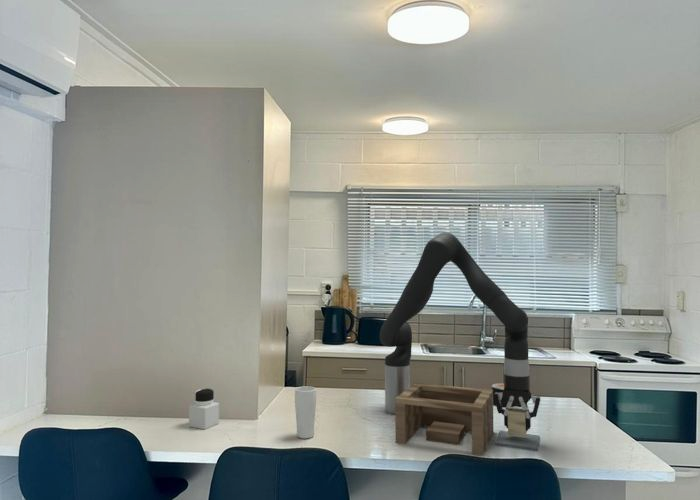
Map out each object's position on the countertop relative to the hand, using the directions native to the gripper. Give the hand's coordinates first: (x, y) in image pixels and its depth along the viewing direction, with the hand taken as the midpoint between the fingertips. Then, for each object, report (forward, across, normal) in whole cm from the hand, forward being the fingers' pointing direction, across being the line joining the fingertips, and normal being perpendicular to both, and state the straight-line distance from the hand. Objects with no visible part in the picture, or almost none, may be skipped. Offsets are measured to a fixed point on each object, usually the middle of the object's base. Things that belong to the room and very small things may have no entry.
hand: (517, 428), depth 152 cm
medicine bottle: (+4, +99, +26) cm, 102 cm away
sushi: (+4, +9, -41) cm, 42 cm away
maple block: (+1, 0, 0) cm, 1 cm away
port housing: (+4, +21, +5) cm, 22 cm away
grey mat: (+4, 0, 0) cm, 4 cm away
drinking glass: (+4, +62, +22) cm, 66 cm away
